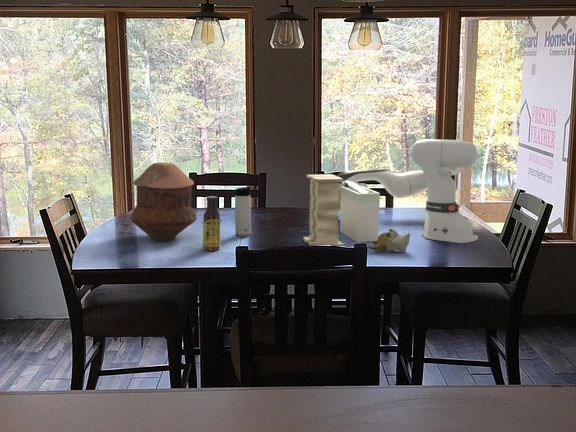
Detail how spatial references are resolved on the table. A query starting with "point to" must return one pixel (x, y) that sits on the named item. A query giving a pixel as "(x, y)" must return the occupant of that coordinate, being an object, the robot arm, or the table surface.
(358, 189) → the aluminium bar
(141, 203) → the pottery vessel
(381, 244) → the ceramic sculpture
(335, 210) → the birch pedestal
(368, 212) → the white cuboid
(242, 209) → the travel mug
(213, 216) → the sauce bottle
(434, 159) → the robot arm
